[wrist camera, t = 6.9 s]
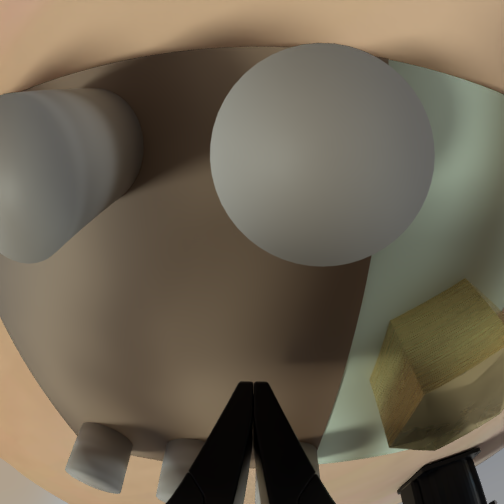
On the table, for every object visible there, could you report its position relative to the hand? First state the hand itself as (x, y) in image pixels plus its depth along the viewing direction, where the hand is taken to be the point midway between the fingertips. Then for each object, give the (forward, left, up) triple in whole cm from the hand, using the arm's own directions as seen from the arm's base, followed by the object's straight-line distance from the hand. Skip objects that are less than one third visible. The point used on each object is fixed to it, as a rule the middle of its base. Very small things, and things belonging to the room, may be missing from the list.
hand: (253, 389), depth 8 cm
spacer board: (0, 0, -2) cm, 2 cm away
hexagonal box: (-7, 0, -1) cm, 7 cm away
